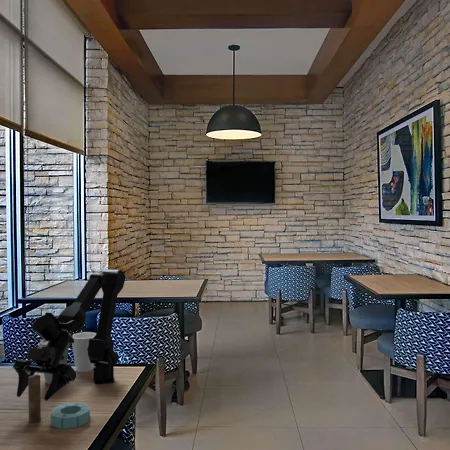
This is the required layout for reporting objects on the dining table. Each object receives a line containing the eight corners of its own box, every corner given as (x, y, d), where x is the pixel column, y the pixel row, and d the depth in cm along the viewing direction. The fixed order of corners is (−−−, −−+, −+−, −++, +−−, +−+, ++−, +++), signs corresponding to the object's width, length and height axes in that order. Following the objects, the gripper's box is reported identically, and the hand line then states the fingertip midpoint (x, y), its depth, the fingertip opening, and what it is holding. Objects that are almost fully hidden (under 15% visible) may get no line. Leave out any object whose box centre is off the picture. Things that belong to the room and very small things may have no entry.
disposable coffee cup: (64, 386, 160) (63, 343, 160) (33, 386, 161) (32, 343, 160) (74, 376, 171) (74, 335, 171) (45, 375, 171) (44, 335, 171)
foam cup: (66, 371, 175) (65, 337, 175) (81, 364, 184) (81, 331, 184) (87, 374, 172) (87, 339, 172) (102, 366, 181) (102, 333, 181)
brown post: (41, 416, 137) (40, 374, 137) (40, 421, 134) (39, 378, 134) (29, 418, 136) (29, 375, 136) (28, 423, 133) (27, 379, 133)
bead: (89, 410, 141) (89, 400, 141) (89, 425, 131) (89, 415, 131) (53, 414, 139) (53, 404, 139) (49, 430, 129) (49, 419, 129)
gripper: (16, 332, 141) (-11, 382, 131) (70, 337, 136) (46, 389, 126) (34, 351, 149) (9, 399, 139) (86, 356, 144) (64, 406, 133)
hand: (31, 398), depth 134 cm, fingers open, 9 cm apart
